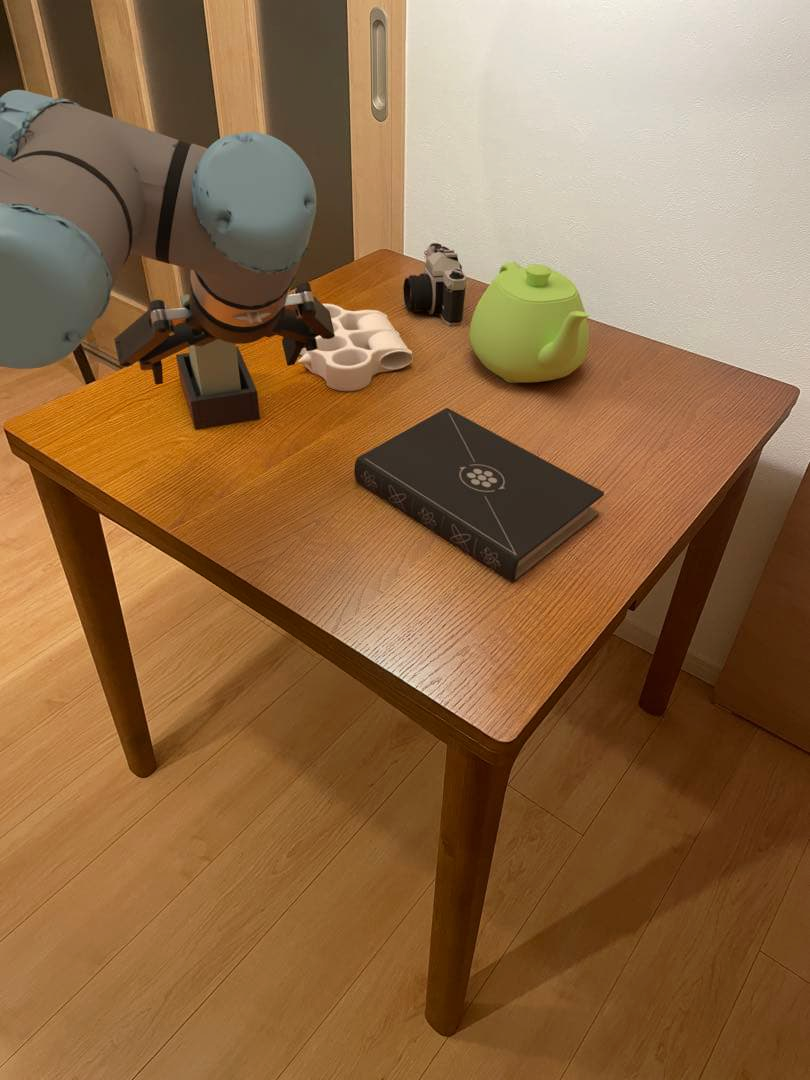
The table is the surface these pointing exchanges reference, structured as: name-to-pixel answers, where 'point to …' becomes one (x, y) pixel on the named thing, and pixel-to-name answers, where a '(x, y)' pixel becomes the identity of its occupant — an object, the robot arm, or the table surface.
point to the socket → (219, 398)
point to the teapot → (530, 325)
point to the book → (479, 491)
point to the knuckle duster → (356, 349)
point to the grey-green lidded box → (214, 365)
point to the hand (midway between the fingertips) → (223, 361)
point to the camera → (438, 286)
